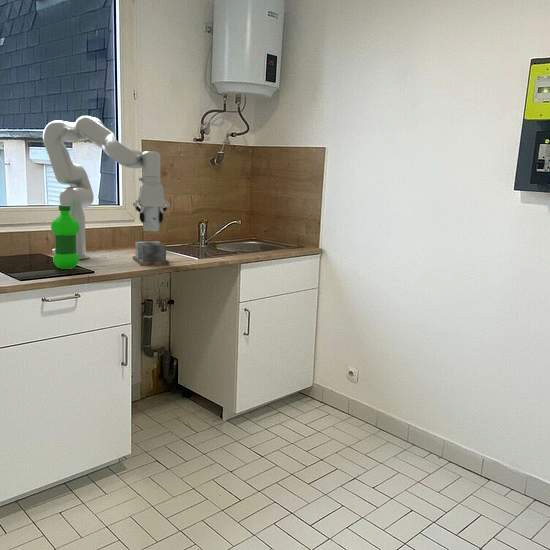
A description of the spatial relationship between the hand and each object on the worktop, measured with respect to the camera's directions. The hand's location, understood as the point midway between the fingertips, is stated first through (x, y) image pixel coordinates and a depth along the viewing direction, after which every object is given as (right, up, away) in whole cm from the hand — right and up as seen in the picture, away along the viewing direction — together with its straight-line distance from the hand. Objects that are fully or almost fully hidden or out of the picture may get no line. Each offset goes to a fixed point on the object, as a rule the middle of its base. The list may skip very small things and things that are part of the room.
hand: (151, 221), depth 242 cm
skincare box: (0, -4, +1) cm, 4 cm away
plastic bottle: (-30, -21, -20) cm, 41 cm away
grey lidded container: (-2, -17, +5) cm, 18 cm away
